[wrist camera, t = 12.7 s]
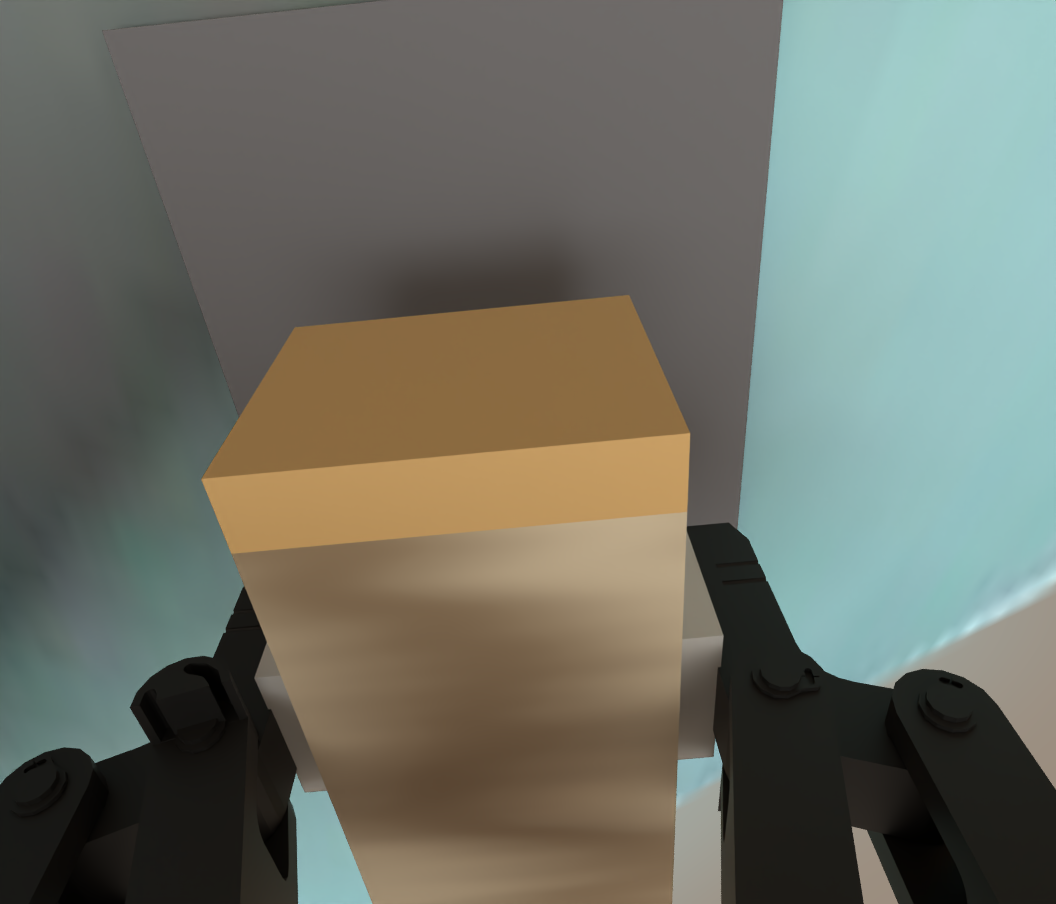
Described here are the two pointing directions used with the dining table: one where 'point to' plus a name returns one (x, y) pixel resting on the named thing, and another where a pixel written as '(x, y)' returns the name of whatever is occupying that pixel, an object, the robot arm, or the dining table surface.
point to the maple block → (476, 593)
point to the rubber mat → (474, 176)
